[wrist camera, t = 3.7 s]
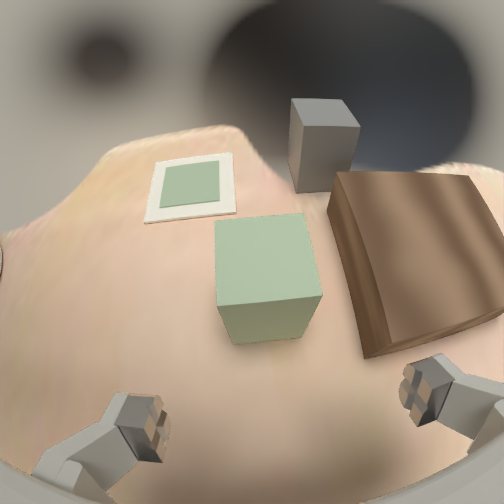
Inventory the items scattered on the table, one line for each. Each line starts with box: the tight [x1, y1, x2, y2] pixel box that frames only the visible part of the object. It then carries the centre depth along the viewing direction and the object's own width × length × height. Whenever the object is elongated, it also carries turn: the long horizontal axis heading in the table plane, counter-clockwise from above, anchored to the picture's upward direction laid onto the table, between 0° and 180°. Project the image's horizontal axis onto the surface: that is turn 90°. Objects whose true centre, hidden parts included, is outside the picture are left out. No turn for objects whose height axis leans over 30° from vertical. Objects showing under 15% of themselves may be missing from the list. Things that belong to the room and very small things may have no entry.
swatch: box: [144, 152, 236, 224], centre depth 28 cm, size 9×9×1 cm
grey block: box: [288, 99, 361, 193], centre depth 25 cm, size 5×5×8 cm
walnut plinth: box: [327, 171, 504, 359], centre depth 20 cm, size 16×14×5 cm
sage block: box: [215, 213, 323, 345], centre depth 18 cm, size 5×5×8 cm
